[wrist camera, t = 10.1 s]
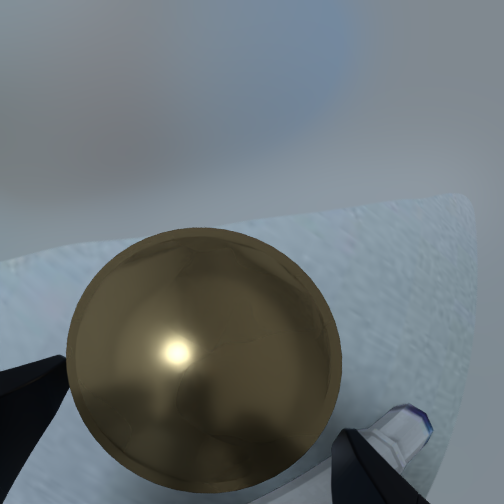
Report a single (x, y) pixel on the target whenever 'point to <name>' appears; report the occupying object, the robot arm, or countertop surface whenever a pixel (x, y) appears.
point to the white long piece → (381, 439)
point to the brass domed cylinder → (204, 360)
